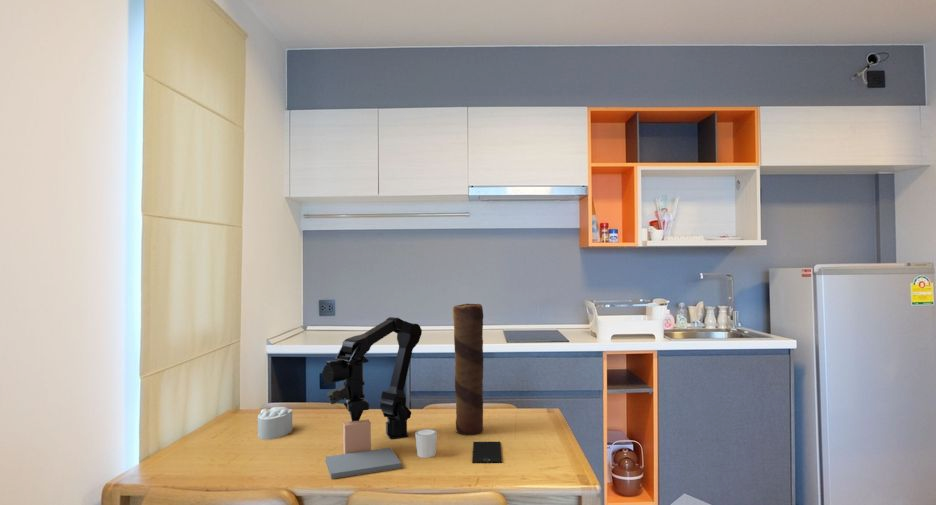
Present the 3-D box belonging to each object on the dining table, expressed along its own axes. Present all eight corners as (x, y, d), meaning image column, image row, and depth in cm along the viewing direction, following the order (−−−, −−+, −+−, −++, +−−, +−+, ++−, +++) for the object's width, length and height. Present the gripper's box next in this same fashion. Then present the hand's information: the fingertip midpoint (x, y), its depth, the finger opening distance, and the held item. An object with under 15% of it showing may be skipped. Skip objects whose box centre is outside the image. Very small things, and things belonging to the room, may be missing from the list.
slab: (368, 450, 175) (368, 419, 175) (371, 454, 171) (370, 422, 171) (343, 454, 172) (343, 422, 172) (345, 458, 168) (344, 425, 169)
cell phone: (472, 464, 162) (472, 461, 162) (473, 444, 180) (473, 441, 180) (502, 464, 162) (501, 461, 162) (500, 444, 180) (500, 441, 180)
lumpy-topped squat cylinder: (296, 428, 199) (295, 404, 200) (278, 440, 187) (278, 414, 187) (269, 427, 201) (269, 404, 201) (250, 439, 188) (250, 414, 188)
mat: (390, 452, 173) (390, 447, 173) (401, 468, 159) (401, 463, 159) (325, 461, 166) (325, 456, 166) (331, 479, 152) (331, 473, 152)
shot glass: (420, 460, 166) (420, 436, 166) (412, 453, 172) (411, 430, 172) (441, 456, 169) (440, 433, 169) (432, 449, 175) (431, 427, 175)
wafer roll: (480, 437, 186) (478, 305, 187) (451, 434, 189) (449, 305, 190) (489, 428, 196) (487, 303, 197) (461, 425, 199) (459, 302, 200)
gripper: (325, 374, 181) (325, 421, 181) (331, 386, 164) (332, 438, 164) (359, 371, 185) (359, 417, 185) (368, 383, 168) (369, 433, 168)
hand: (354, 426), depth 175 cm, fingers closed
